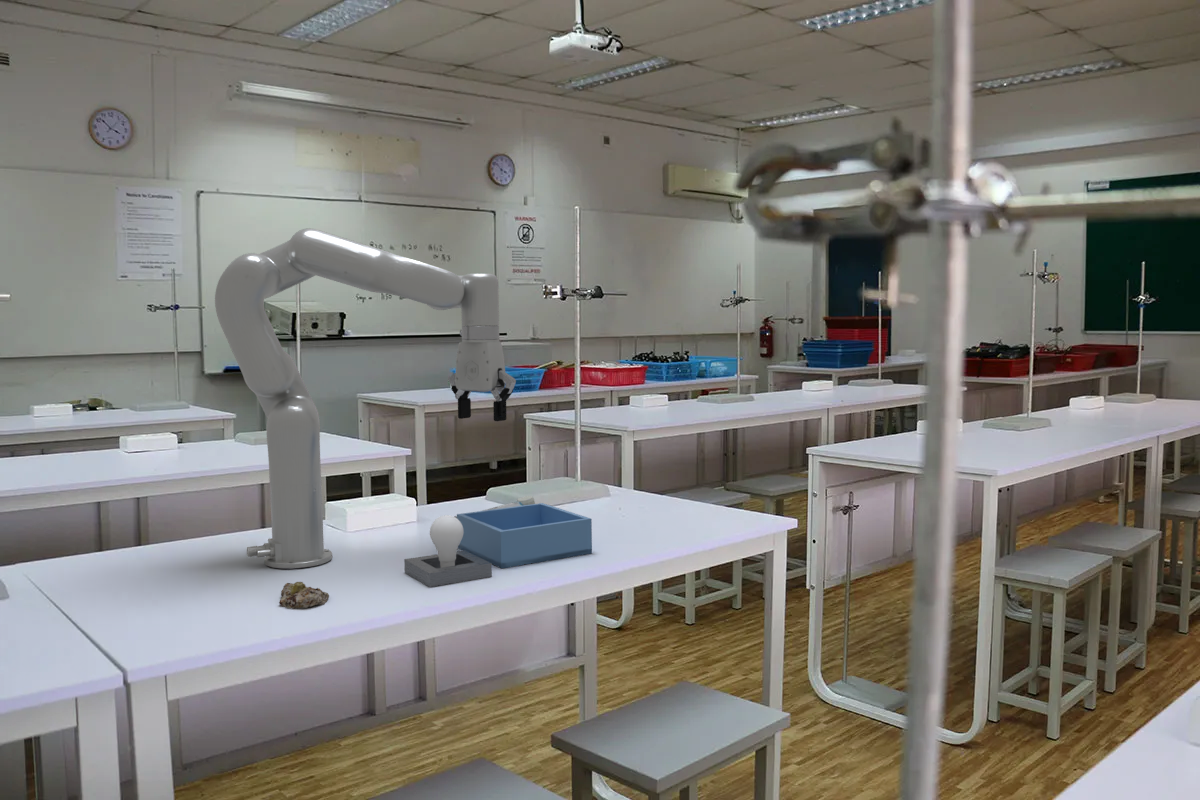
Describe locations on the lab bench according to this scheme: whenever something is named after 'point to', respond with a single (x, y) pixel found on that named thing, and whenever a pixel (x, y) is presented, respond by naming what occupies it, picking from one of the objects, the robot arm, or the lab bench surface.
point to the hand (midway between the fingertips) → (482, 419)
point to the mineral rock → (301, 596)
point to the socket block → (447, 569)
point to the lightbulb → (446, 538)
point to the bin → (525, 534)
